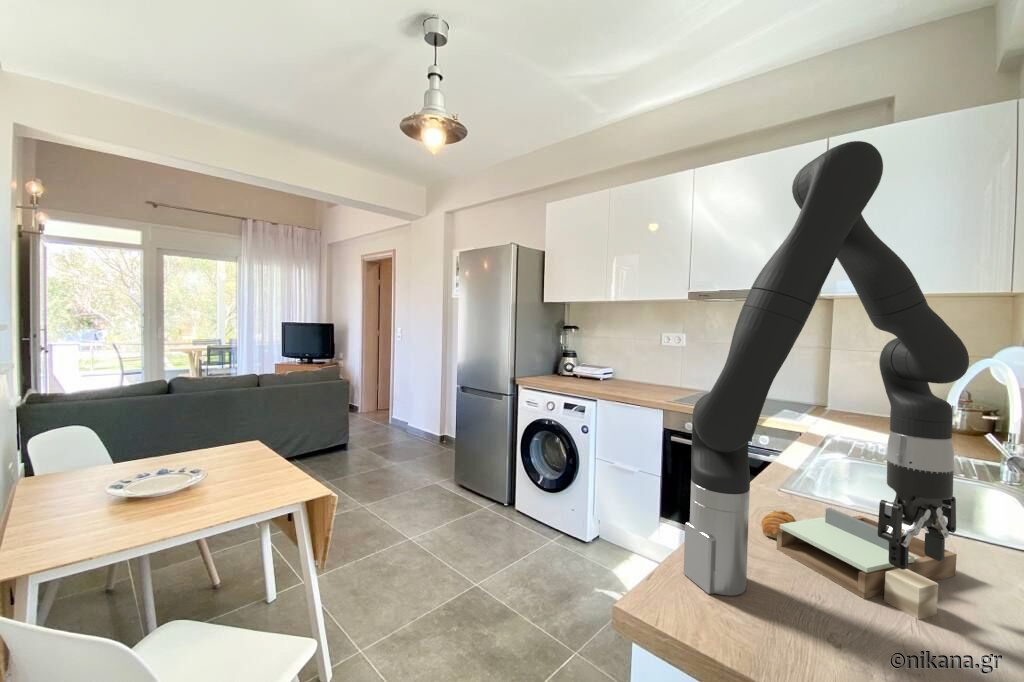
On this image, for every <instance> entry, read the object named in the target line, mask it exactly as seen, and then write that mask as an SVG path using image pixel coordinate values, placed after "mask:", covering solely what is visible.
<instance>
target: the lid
mask: <svg viewBox="0 0 1024 682" xmlns="http://www.w3.org/2000/svg"><path fill="white" fill-rule="evenodd" d="M824 515H825V516H821V517H815V518H808V519H802V520H796V522H790V523H784V524H780V528H781V529H782V530H784V531H786V532H788V533H790V534H792V535H794V536H796V537H798V538H800V539H802V540H804V541H806V542H808V543H810V544H812V545H814V546H816V547H817V548H819V549H821V550H823V551H825V552H827V553H829V554H831V555H833V556H835V557H837V558H839V559H841V560H843V561H845V562H847V563H849V564H851V565H852V566H854V567H856V568H858V569H860V570H862V571H864V572H866V573H868V572H872V571H877V570H881V569H885V568H890V567H894V566H893V565H891V564H890V563H889V542H888V541H887V540H885V539H883V538H880V537H878V527H875V526H873V525H871V524H868V523H866V522H863V521H861V520H858V519H856V518H854V516H851V515H848V514H846V513H844V512H841V511H839V510H836V509H834V508H832V507H827V508H825V514H824ZM886 532H887V531H886ZM914 560H915V557H913V556H911V555H909V556H908V563H911V562H914Z"/></svg>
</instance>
